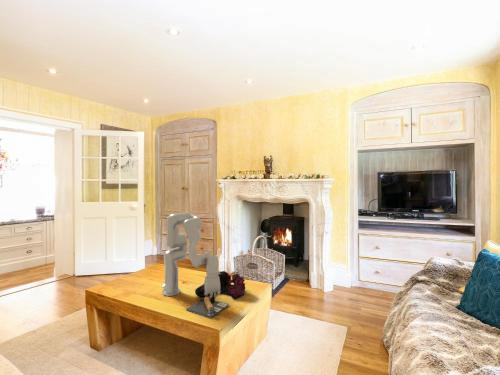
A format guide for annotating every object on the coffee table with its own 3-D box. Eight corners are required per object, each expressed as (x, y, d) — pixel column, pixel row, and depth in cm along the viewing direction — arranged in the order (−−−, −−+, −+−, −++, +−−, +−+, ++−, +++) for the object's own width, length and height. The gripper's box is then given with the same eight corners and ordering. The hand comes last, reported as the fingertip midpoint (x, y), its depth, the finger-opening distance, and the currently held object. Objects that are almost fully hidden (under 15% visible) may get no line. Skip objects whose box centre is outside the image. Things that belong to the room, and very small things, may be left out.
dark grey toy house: (203, 291, 192) (203, 282, 192) (211, 292, 189) (211, 283, 189) (195, 296, 183) (194, 287, 183) (203, 298, 180) (202, 289, 180)
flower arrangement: (202, 291, 191) (203, 271, 191) (217, 283, 208) (218, 265, 208) (239, 301, 176) (240, 279, 177) (252, 291, 194) (253, 271, 194)
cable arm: (214, 313, 156) (214, 308, 156) (209, 314, 155) (209, 309, 155) (208, 301, 173) (208, 296, 172) (203, 302, 171) (203, 297, 171)
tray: (186, 310, 164) (186, 307, 164) (204, 299, 180) (204, 297, 180) (212, 318, 154) (212, 315, 154) (228, 306, 170) (228, 303, 170)
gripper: (221, 271, 174) (221, 298, 174) (199, 274, 168) (199, 302, 168) (225, 275, 167) (225, 303, 168) (202, 278, 161) (202, 307, 162)
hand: (212, 302), depth 168 cm, fingers closed
